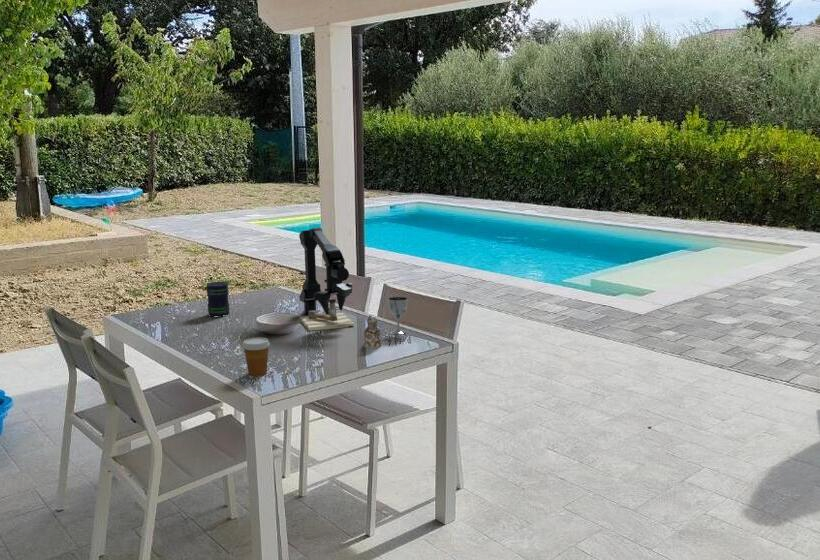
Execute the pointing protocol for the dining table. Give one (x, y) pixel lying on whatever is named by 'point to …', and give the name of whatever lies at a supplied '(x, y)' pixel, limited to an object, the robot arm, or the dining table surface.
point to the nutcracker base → (326, 322)
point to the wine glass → (398, 310)
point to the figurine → (372, 334)
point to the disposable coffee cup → (256, 355)
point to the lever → (323, 316)
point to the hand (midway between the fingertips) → (333, 312)
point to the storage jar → (218, 298)
